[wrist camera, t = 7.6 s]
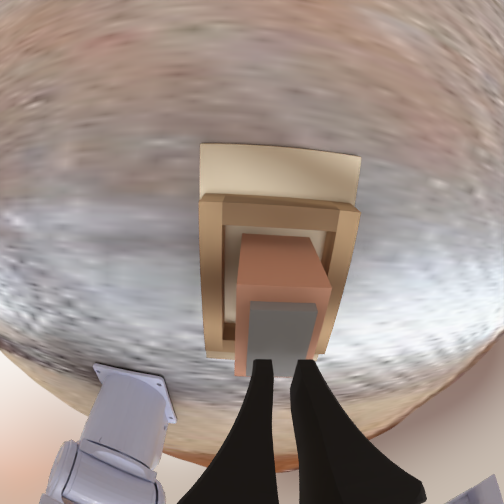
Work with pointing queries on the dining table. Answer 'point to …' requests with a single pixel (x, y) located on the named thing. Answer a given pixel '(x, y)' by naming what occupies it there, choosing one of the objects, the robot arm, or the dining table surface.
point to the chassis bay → (271, 222)
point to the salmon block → (278, 302)
